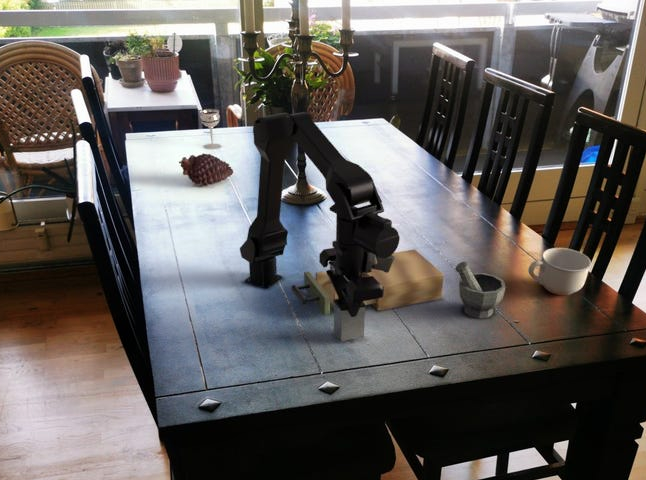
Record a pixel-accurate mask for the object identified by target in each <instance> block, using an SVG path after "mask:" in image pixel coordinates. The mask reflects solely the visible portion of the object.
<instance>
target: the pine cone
mask: <svg viewBox="0 0 646 480" xmlns="http://www.w3.org/2000/svg"><path fill="white" fill-rule="evenodd" d="M178 164H180V167H181V168H182V175H183V176H187V178H188V179H189V180H190V181H191V182H192V183H193V184H194V185H196V186H199V187H203V186H204V187H208V186H209V185H211V186H212V185H213V184H216V183H221V182H222V181H225V180H227V179H228V178H230V177H231V176H233V174H234V169H233V168H232V167H231V166H230V163H228V162H226V161H224V160H221V159H220V158H218V157H217V156H214V155H212V154H210V153H208V154H207V153H202V154H198V155H197V156H195V154H191V155H189V157H188V158H187V156H183V157H182V159H181V160H179V161H178Z"/></svg>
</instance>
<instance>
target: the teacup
mask: <svg viewBox="0 0 646 480" xmlns="http://www.w3.org/2000/svg"><path fill="white" fill-rule="evenodd" d="M591 265H592V262H591V259H590V258H589V256H587V255H586V254H584V253H582V252H580V251H579V250H575V249H571V248H566V247H551V248H548V249H546V250H544V251H543V252H542V253H541V260H534V261H533V262H531V263H530V265H529V266H528V270H527V271H528V274H529V276H530V277H531V278H532V279H533V280H535V281H537V283H538V284H539V285H541V286H543V287H544V289H546V290H547V291H548V292H549V293H551V294H555V295H558V296H569V295H571V294H574V293H577V292H579V291H580V290H581V289H582V288H583V287H584V285H585V283H586V281H587V278H588V274H589V270H590V267H591ZM537 267H539V271H538V275H537V274H535V272H534V271H535V269H536V268H537Z"/></svg>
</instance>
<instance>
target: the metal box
mask: <svg viewBox="0 0 646 480" xmlns="http://www.w3.org/2000/svg"><path fill="white" fill-rule="evenodd" d="M366 307H367V305H366V304H365V303H364V302H363V301H362V304H361V306H360V309H359V311H358V313H357V316H356V317H351V316H350V313H349V310H348V308H347V305H346V302H345V299H344V298H340V299H335V300H334V309H333V333H334V334H335V336H336V337H337V338H338V339H339V340H340V342H345V341H350V340H355V339H360V338H365V319H366V318H365V317H366V315H365V314H366Z"/></svg>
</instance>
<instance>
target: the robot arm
mask: <svg viewBox="0 0 646 480" xmlns="http://www.w3.org/2000/svg"><path fill="white" fill-rule="evenodd" d="M252 134H253V144H254V146H255V148H256V149H257V151H258V153H259V155H260V165H259V177H258V178H259V180H258V196H257V209H256V210H257V211H256V217H255V218H254V219H253V221H252V222H251V224H250V225H249V227H248V230H247V237H246V240H245V241H244V242H243V243H242V245H241V246H240V247H239V252H240V256H241V258H242V259H244V261H246V262H248V268H249V276H248V277H246V278H245V279H244V283H246V284H250V285H253V286H257V287H260V288H263V289H269V288H270V287H272V286H273V285H274V284H276V283H277V282H279V281H280V280H281V279H283V275H281V274H277V273H278V272H277V257H278V256H283V255H284V252H285V248H286V246H288V234H289V231H288V229H287V228H285V226H284V224H283V223H282V221H281V209H282V207H281V206H282V198H283V197H282V196H283V186H284V175H285V165H286V164H285V163H286V159H287V158H288V156H289V154H290V153H291V152H292V150H293V149H294V147H295V144H296V145H298V147H299V148H300V149H301V150H302V152H303V153H304V154H305V156H306V157H307V158H308V159H309V161H311V163H312V164H313V165H314V166H315V167H316V169H317V170H318V171H319V173H320V174H321V175H322V176H323V178H324V179H325V180H324V181H325V190H326V192H327V194H328V195H329V197H330V199H331V200H332V202H333V203H334V204H333V205H331V206H330V207H329V211H330V212H332V213H334V214H335V215H336V218H335V219H336V220H335V221H336V222H335V223H336V224H335V225H336V226H335V227H336V228H335V240H333V241H331V242H332V243H331V244H332V245H331V246H332V247H331V248H324V249H322V251H321V252H320V253H319V257H318V259H319V262H318V263H319V264H320V265H321V266H322V267H323V268H324V269H325V268H328V266H329V269H326V270H325V271H326V273H327V275H328V276H329V279H330V281H331V283H332V285H333V287H334V289H335V291H336V293H337V296H338V298H339V299H340V298H344V299H345V302H346V305H347V308H348V310H349V313H350V316H351V317H356V316H357V313H358V311H359V309H360V306H361V304H362V301H367V300H373V299H378V298H382V297H383V296H384V287H383V286H382V285H381V284H380V283H379V282H378V281H377V279H375V278H374V277H373V276H369V277H365V276H364V275H363V272H365V273H369V272H371V271H372V269H376V270H381V271H384V272H386V273H388V272H389V270H390V268H391V265H392V263H393V260H394V257H393V256H392V254H393V253H395V252H396V250H397V249H398V247H399V244H400V239H401V238H400V234H399V231H398V230H397V229H396V228H395V227H393V221H392V220H391V219H389V218H387V217H382V216H381V215H379V214H382V213H384V212H385V208H384V205H383V200H382V198H381V196H380V195H379V192H378V190H377V187H376V185H375V182H374V179H373V177H372V175H371V174H370V173H369V172H367V170H365V169H364V168H363V167H362V166H360V164H358V163H355V162H352V161H349V160H348V159H346V158H345V157H344V156H343V155H342V154H341V153H340V151H339V150H338V149H337V147H335V145H334V144H333V143H332V141H330V140H329V138H328V137H327V136H326V135H325V134H324V133H323V131H322V130H321V129H320V128H319V126H318V125H317V124H316V123H315V121H314V118H313V115H312V114H311V113H309V112H306V111H302V112H296V113H291V114H290V113H288V112H279V113H275V114H270V115H265V116H259V117H257V119H255V120H254V122H253V126H252ZM366 203H369V204H367V205H364V206H360V207H357V206H359V205H363V204H366Z"/></svg>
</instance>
